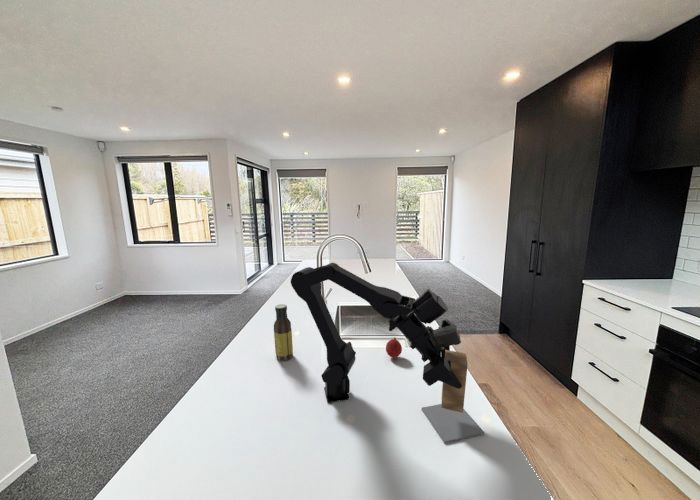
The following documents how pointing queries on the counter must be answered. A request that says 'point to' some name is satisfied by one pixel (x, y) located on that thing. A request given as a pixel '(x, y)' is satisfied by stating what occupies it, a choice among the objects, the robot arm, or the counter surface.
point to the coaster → (451, 423)
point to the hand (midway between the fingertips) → (459, 380)
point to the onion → (393, 348)
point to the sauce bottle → (282, 334)
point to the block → (452, 395)
